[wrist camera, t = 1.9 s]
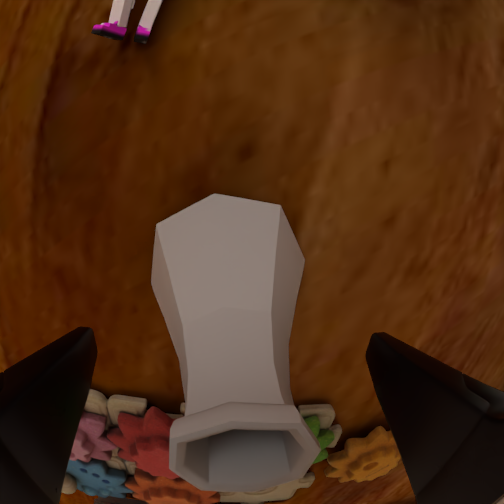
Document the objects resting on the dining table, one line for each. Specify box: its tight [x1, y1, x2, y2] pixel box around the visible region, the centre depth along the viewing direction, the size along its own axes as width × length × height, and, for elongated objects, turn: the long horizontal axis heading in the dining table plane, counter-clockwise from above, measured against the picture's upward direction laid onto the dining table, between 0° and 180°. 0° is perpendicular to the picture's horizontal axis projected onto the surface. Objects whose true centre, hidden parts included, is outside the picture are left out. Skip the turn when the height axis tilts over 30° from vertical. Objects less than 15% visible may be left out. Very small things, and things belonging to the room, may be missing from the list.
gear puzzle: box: [62, 389, 402, 504], centre depth 18 cm, size 31×16×4 cm, turn 83°
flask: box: [151, 193, 321, 492], centre depth 10 cm, size 7×7×10 cm
